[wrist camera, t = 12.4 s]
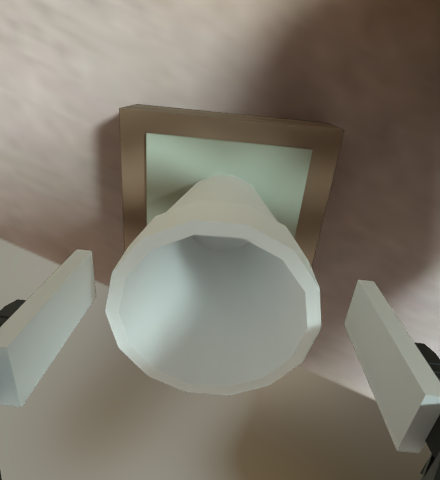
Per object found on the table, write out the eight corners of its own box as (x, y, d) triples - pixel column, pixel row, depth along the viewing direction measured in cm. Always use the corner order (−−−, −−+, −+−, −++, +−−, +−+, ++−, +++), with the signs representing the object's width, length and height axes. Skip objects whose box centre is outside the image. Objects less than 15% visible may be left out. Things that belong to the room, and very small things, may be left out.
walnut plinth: (136, 104, 28) (117, 108, 23) (327, 123, 28) (345, 131, 23) (139, 252, 34) (124, 278, 29) (296, 267, 34) (305, 296, 29)
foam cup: (292, 159, 24) (345, 232, 13) (274, 268, 28) (302, 401, 17) (162, 149, 24) (94, 212, 13) (163, 260, 28) (112, 386, 17)
